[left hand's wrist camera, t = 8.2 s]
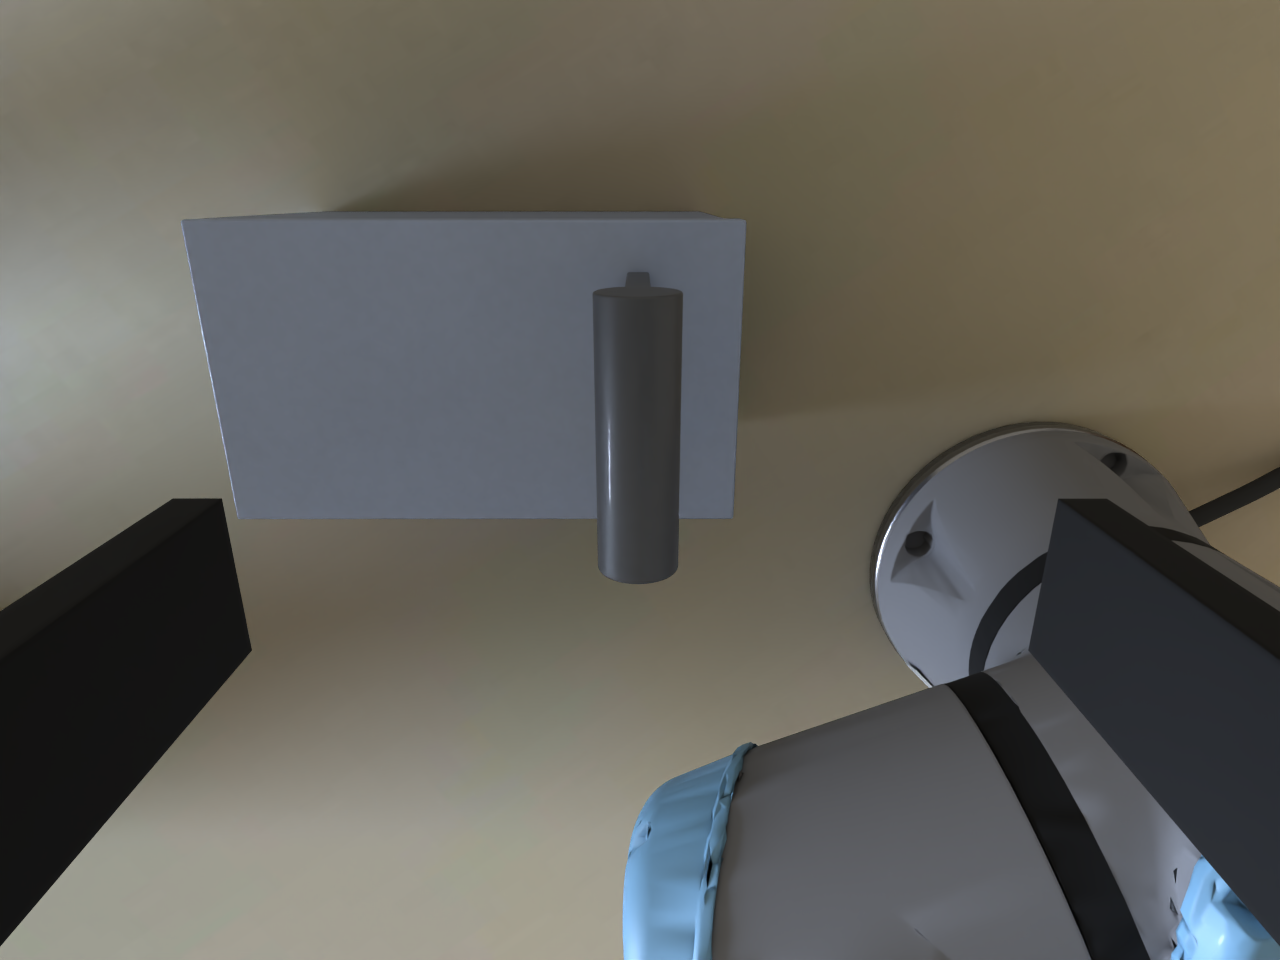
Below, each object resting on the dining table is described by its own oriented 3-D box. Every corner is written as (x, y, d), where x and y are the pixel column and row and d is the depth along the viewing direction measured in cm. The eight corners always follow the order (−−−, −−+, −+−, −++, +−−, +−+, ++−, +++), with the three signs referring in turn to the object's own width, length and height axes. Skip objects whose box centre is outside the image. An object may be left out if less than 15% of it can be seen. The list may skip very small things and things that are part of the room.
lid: (741, 218, 25) (792, 230, 17) (729, 506, 29) (766, 633, 20) (200, 218, 25) (-14, 230, 17) (253, 506, 29) (97, 633, 20)
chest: (701, 211, 35) (725, 218, 25) (695, 427, 38) (714, 505, 29) (322, 211, 35) (201, 218, 25) (350, 427, 38) (254, 506, 29)
